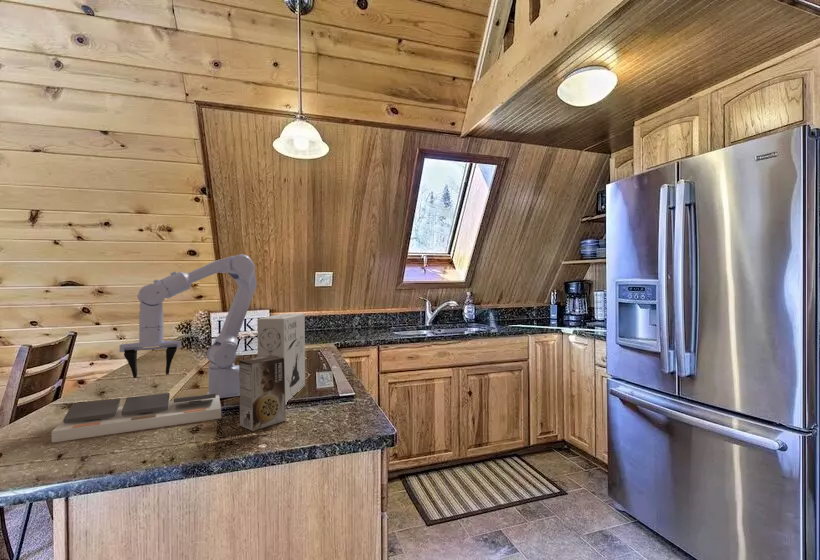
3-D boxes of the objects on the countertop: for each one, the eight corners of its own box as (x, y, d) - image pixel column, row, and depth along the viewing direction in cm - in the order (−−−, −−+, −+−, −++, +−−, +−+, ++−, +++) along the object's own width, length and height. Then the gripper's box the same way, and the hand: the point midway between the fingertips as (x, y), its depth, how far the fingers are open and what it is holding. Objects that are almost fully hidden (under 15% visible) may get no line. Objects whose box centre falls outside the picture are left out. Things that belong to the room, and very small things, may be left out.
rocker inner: (214, 397, 115) (214, 393, 115) (215, 397, 108) (215, 393, 108) (175, 401, 110) (175, 397, 111) (173, 402, 104) (173, 398, 104)
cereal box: (284, 407, 115) (283, 318, 115) (257, 407, 115) (257, 318, 115) (305, 387, 136) (304, 313, 137) (283, 388, 136) (282, 313, 137)
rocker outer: (120, 401, 105) (120, 398, 105) (114, 416, 98) (114, 412, 98) (73, 407, 101) (72, 403, 100) (63, 423, 94) (63, 419, 93)
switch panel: (219, 403, 119) (218, 392, 119) (221, 418, 105) (221, 405, 105) (70, 422, 103) (70, 409, 103) (51, 442, 90) (51, 427, 90)
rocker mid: (169, 396, 110) (169, 392, 110) (167, 409, 103) (167, 406, 103) (126, 401, 106) (126, 397, 105) (121, 415, 99) (121, 411, 98)
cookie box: (272, 416, 106) (271, 354, 107) (286, 421, 102) (285, 357, 103) (238, 425, 99) (238, 359, 100) (252, 431, 95) (252, 362, 96)
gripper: (181, 324, 121) (181, 370, 121) (122, 327, 115) (122, 375, 114) (180, 326, 115) (180, 374, 115) (118, 329, 108) (118, 380, 108)
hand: (151, 375), depth 114 cm, fingers open, 7 cm apart
